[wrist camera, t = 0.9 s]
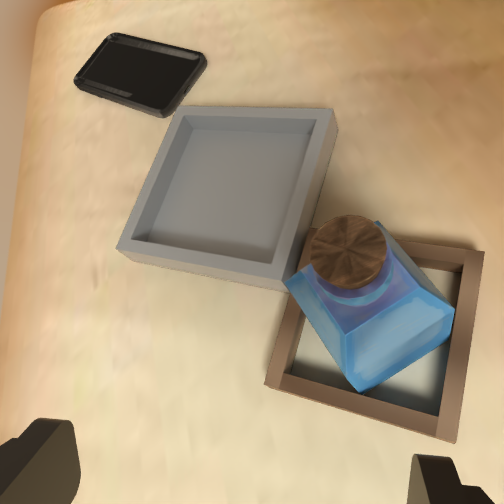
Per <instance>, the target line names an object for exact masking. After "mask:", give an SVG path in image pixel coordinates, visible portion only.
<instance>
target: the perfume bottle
mask: <svg viewBox="0 0 504 504" xmlns="http://www.w3.org/2000/svg"><path fill="white" fill-rule="evenodd" d="M309 256H310V262H311V263H310V264H309V265H307V266H306V267H304V268H303V269H301V270H300V271H298V272H297V273H296V274H295V275H293V276H292V277H291V278H290V279H288V280H287V281H286V282H284V283H285V284H286V286H287V287H288V289H289V290H290V292H291V293H292V295H293V297H294V298H295V300H296V301H297V303H298V304H299V306H300V307H301V309H302V310H303V312H304V314H305V315H306V317H307V318H308V320H309V321H310V323H311V324H312V326H313V328H314V329H315V331H316V332H317V334H318V335H319V337H320V338H321V340H322V341H323V343H324V345H325V346H326V348H327V349H328V351H329V352H330V354H331V355H332V357H333V359H334V360H335V362H336V363H337V365H338V366H339V368H340V369H341V371H342V372H343V374H344V376H345V377H346V379H347V380H348V381H349V382H350V383H351V384H352V385H353V387H354V388H355V389H356V390H357V391H358V392H359V393H360V394H361V395H363V394H365V393H366V392H368V391H370V390H371V389H373V388H374V387H376V386H377V385H379V384H381V383H382V382H384V381H385V380H387V379H388V378H390V377H391V376H393V375H395V374H396V373H398V372H399V371H401V370H402V369H404V368H406V367H407V366H409V365H410V364H412V363H413V362H415V361H416V360H418V359H420V358H421V357H423V356H424V355H426V354H427V353H429V352H431V351H432V350H434V349H435V348H437V347H438V346H440V345H441V344H443V343H445V342H446V341H448V340H449V337H450V332H451V327H452V322H453V317H454V311H455V309H454V308H453V306H452V305H451V304H450V303H449V302H448V301H447V300H446V298H445V297H444V296H443V295H442V294H441V293H440V292H439V290H438V289H437V288H436V287H435V286H434V285H433V283H432V282H431V281H430V280H429V279H428V278H427V277H426V275H425V274H424V273H423V272H422V271H421V270H420V268H419V267H418V266H417V265H416V264H415V263H414V262H413V260H412V259H411V258H410V257H409V256H408V255H407V253H406V252H405V251H404V250H403V249H402V248H401V247H400V245H399V244H398V243H397V242H396V241H395V240H394V238H393V237H392V236H391V235H390V234H389V233H388V232H387V230H386V229H385V228H384V227H383V226H382V225H381V224H380V222H379V221H376V222H374V223H373V222H372V221H371V220H369V219H366V218H363V217H361V216H353V215H346V216H341V217H336V218H334V219H332V220H330V221H328V222H326V223H325V224H324V225H323V226H322V227H320V228H319V229H318V230H317V232H316V233H315V235H314V237H313V238H312V240H311V244H310V248H309Z"/></svg>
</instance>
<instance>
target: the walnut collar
mask: <svg viewBox="0 0 504 504" xmlns="http://www.w3.org/2000/svg"><path fill="white" fill-rule="evenodd" d="M317 230H318V229H315V228H309V231H308V234H307V238H306V241H305V245H304V248H303V252H302V255H301V258H300V262H299V265H298V269H297V272H298V271H300V270H301V269H303V268H304V267H306V266H307V265H309V264H310V263H311V262H310V256H309V248H310V244H311V240H312V238H313V237H314V235H315V233H316V232H317ZM394 240H395V241H396V242H397V243H398V244H399V245H400V247H401V248H402V249H403V250H404V251H405V252H406V253H407V255H408V256H409V257H410V258H411V259H412V260H413V262H414V263H415V264H416V265H417V266H419V267H425V268H432V269H438V270H444V271H451V272H457V273H462V277H461V283H460V289H459V295H458V301H457V307H456V314H455V320H454V326H453V332H452V338H451V344H450V350H449V356H448V362H447V368H446V374H445V380H444V386H443V392H442V398H441V404H440V410H439V416H438V417H437V416H433V415H430V414H426V413H423V412H419V411H415V410H412V409H408V408H405V407H401V406H398V405H394V404H391V403H387V402H384V401H380V400H377V399H373V398H370V397H366V396H363V395H359V394H356V393H352V392H349V391H345V390H342V389H338V388H335V387H331V386H328V385H324V384H321V383H317V382H314V381H310V380H307V379H303V378H300V377H296V376H293V375H290V373H291V369H292V365H293V362H294V358H295V354H296V351H297V347H298V343H299V340H300V336H301V333H302V329H303V325H304V322H305V318H306V315H305V314H304V312H303V310H302V309H301V307H300V306H299V304H298V303H297V301H296V300H295V298H294V297H293V295H292V293H290V296H289V300H288V303H287V306H286V310H285V313H284V317H283V320H282V324H281V327H280V330H279V334H278V337H277V341H276V344H275V348H274V351H273V354H272V358H271V361H270V365H269V368H268V372H267V375H266V378H265V382H264V385H266V386H268V387H270V388H273V389H276V390H279V391H282V392H286V393H289V394H292V395H296V396H299V397H302V398H305V399H309V400H312V401H315V402H319V403H322V404H325V405H328V406H332V407H335V408H338V409H342V410H345V411H348V412H352V413H355V414H358V415H361V416H365V417H368V418H371V419H375V420H378V421H381V422H384V423H388V424H391V425H394V426H398V427H401V428H404V429H407V430H411V431H414V432H417V433H421V434H424V435H427V436H431V437H434V438H437V439H440V440H444V441H447V442H450V443H454V444H455V443H456V440H457V433H458V427H459V420H460V413H461V407H462V400H463V393H464V387H465V380H466V373H467V367H468V360H469V354H470V347H471V340H472V334H473V327H474V320H475V314H476V307H477V300H478V294H479V287H480V280H481V274H482V267H483V260H484V254H485V252H484V251H477V250H469V249H462V248H455V247H447V246H440V245H433V244H425V243H418V242H411V241H403V240H396V239H394ZM297 272H296V273H297Z"/></svg>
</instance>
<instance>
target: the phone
mask: <svg viewBox="0 0 504 504" xmlns="http://www.w3.org/2000/svg"><path fill="white" fill-rule="evenodd" d="M206 67H207V60H206V58H205V56H204V55H203V53H201V52H197V51H193V50H189V49H185V48H180V47H176V46H172V45H168V44H164V43H159V42H155V41H151V40H147V39H142V38H138V37H134V36H130V35H126V34H121V33H112V34H110V35H108V36H107V37H106V38H105V39H104V41H103V42H102V43H101V44H100V46H99V47H98V48H97V49H96V51H95V52H94V53H93V54H92V56H91V57H90V58H89V59H88V61H87V62H86V63H85V64H84V66H83V67H82V68H81V69H80V71H79V72H78V73H77V74H76V76H75V77H74V84H75V85H76V86H77V87H78V88H79V89H80V90H82V91H85V92H88V93H90V94H93V95H96V96H98V97H101V98H105V99H108V100H110V101H113V102H116V103H119V104H122V105H125V106H127V107H130V108H133V109H136V110H139V111H141V112H144V113H147V114H150V115H153V116H156V117H158V118H166V117H168V116H170V115H171V114H172V113H173V112H174V111H175V110H176V108H177V107H178V106H179V104H180V103H181V102H182V100H183V99H184V97H185V96H186V95H187V93H188V92H189V91H190V89H191V88H192V86H193V85H194V84H195V82H196V81H197V80H198V78H199V77H200V75H201V74H202V73H203V71H204V70H205V69H206ZM188 86H190V87H189V89H188V90H187V91H186V93H185V94H184V91H185V90H186V89H187V87H188ZM176 104H177V106H176Z"/></svg>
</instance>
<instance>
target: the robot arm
mask: <svg viewBox="0 0 504 504" xmlns="http://www.w3.org/2000/svg"><path fill="white" fill-rule="evenodd" d="M80 477H81V469H80V463H79V457H78V451H77V445H76V439H75V433H74V427H73V424H72V423H71V421H69V420H60V419H49V418H38V419H36V420H34V421H33V422H32V423H31V424H30V425H29V427H28V428H27V429H26V430H25V431H24V432H23V433H22V434H21V435H20V436H19V437H18V438H12V439H10V440H9V441H7V442H6V443H4V444H2V445H1V446H0V504H71V502H72V501H73V499H74V497H75V495H76V493H77V490H78V487H79V483H80ZM407 504H495V503H494V502H493V501H492V500H491V499H490V498H489V497H488V496H487V494H486V493H485V492H484V491H483V490H482V489H481V488H480V487H478V486H468V485H462V484H461V482H460V479H459V476H458V473H457V471H456V468H455V465H454V463H453V461H452V459H451V458H450V457H443V456H433V455H422V454H414V455H413V457H412V463H411V472H410V481H409V489H408V498H407Z"/></svg>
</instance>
